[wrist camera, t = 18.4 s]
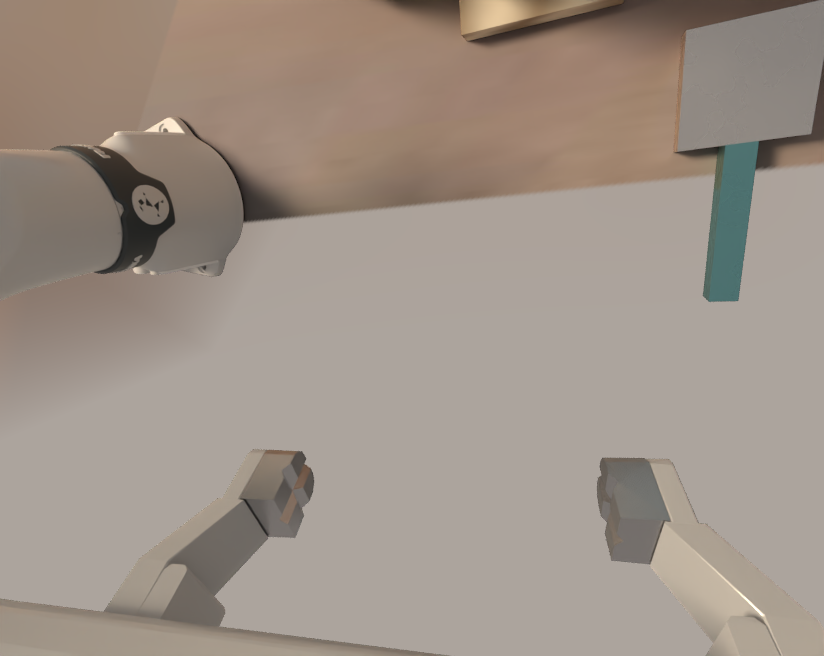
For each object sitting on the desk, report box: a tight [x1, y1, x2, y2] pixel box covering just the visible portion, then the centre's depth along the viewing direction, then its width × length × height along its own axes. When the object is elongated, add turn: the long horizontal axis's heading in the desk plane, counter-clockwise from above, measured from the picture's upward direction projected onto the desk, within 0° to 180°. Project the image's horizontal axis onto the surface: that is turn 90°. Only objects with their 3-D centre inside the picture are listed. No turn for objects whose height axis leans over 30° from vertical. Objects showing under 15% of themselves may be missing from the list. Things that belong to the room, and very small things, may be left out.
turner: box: [673, 0, 824, 302], centre depth 32 cm, size 20×8×2 cm, turn 7°
